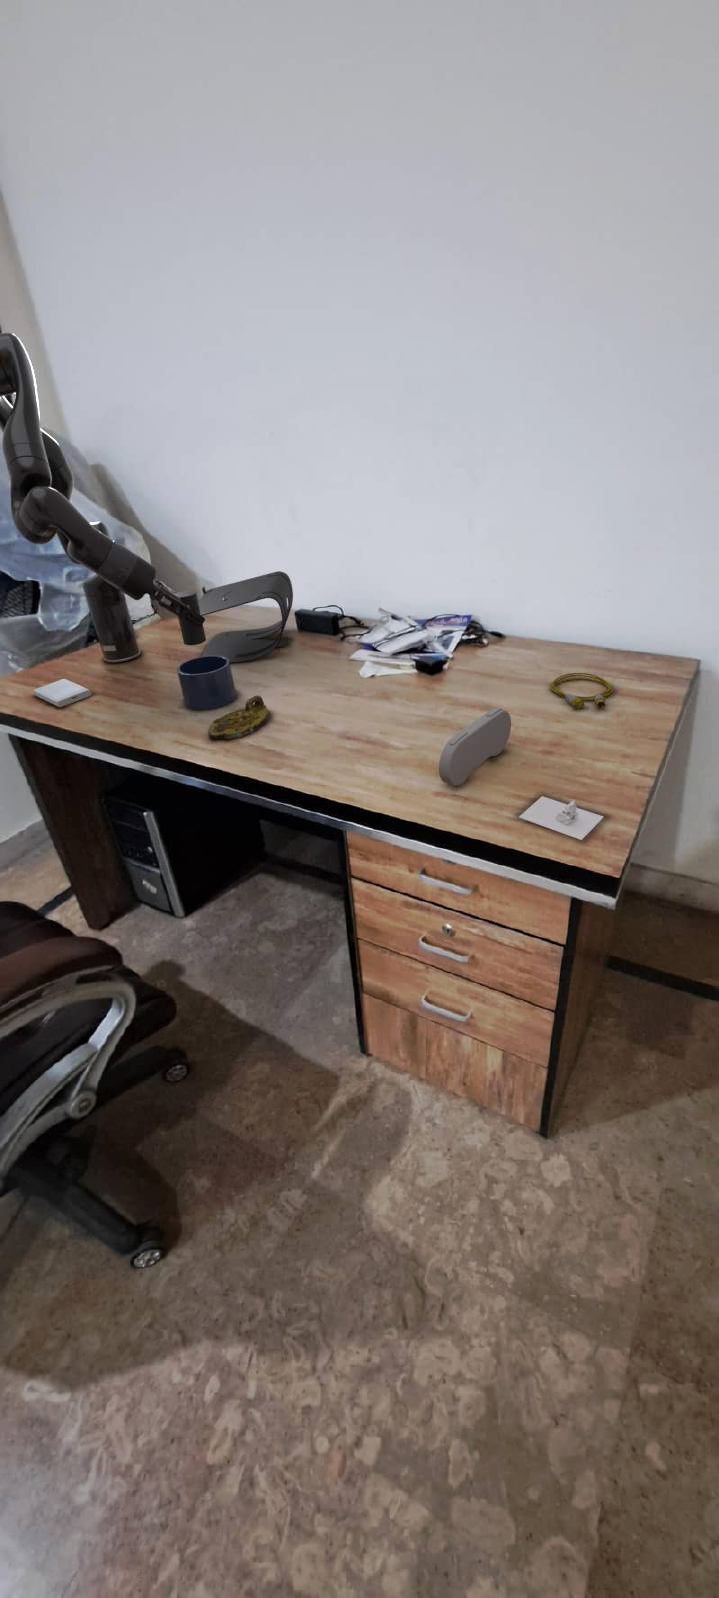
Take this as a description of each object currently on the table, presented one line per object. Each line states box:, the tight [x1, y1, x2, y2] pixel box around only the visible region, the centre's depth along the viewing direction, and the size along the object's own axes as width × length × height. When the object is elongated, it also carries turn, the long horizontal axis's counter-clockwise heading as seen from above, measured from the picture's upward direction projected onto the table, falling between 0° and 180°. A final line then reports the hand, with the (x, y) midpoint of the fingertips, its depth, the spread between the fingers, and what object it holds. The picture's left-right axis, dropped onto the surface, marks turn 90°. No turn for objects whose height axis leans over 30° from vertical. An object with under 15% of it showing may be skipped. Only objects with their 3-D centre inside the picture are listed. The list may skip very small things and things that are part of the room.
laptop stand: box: [198, 570, 294, 664], centre depth 172 cm, size 26×24×16 cm
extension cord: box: [550, 672, 613, 710], centre depth 134 cm, size 12×16×2 cm
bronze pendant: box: [207, 694, 269, 740], centre depth 134 cm, size 9×5×15 cm
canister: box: [174, 590, 207, 646], centre depth 138 cm, size 5×5×10 cm
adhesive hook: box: [554, 799, 579, 825], centre depth 98 cm, size 3×3×3 cm
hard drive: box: [32, 678, 92, 708], centre depth 157 cm, size 2×8×12 cm
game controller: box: [438, 707, 512, 787], centre depth 112 cm, size 20×2×8 cm, turn 140°
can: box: [176, 655, 237, 711], centre depth 146 cm, size 11×11×8 cm
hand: (199, 619), depth 139 cm, fingers closed on canister, 4 cm apart
